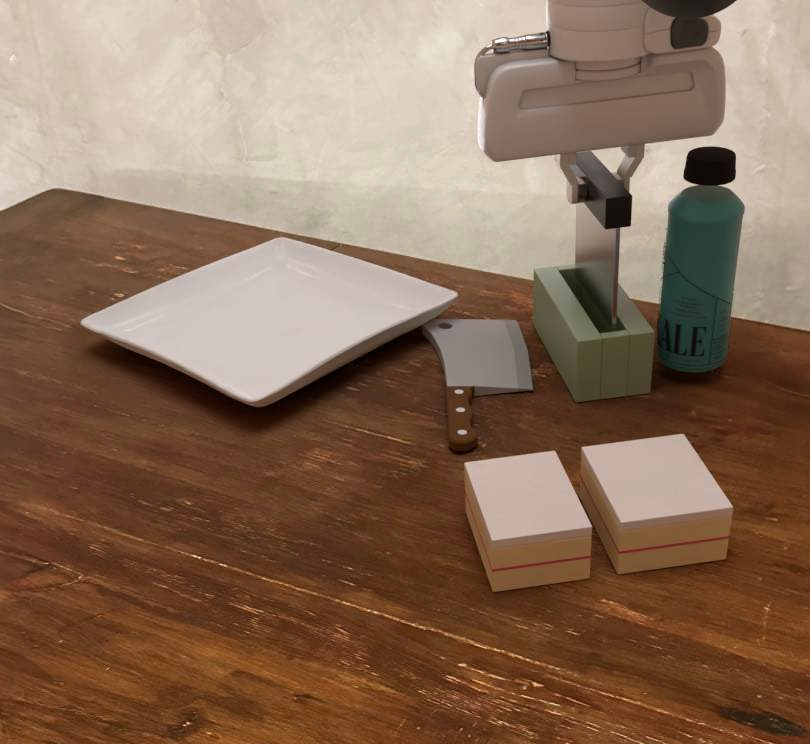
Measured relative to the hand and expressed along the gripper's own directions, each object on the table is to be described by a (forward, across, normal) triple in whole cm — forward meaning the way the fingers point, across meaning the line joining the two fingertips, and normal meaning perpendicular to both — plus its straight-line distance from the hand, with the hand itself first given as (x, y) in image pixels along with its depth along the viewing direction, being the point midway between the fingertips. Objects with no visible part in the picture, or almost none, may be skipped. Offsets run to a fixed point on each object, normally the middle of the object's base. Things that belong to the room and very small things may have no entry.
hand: (597, 198), depth 97 cm
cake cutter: (+9, 0, 0) cm, 9 cm away
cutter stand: (+15, 0, 0) cm, 15 cm away
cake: (+15, -3, -27) cm, 31 cm away
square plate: (+15, -30, +12) cm, 35 cm away
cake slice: (+15, -13, -27) cm, 33 cm away
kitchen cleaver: (+15, -11, -2) cm, 19 cm away
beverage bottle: (+15, +8, -5) cm, 18 cm away
